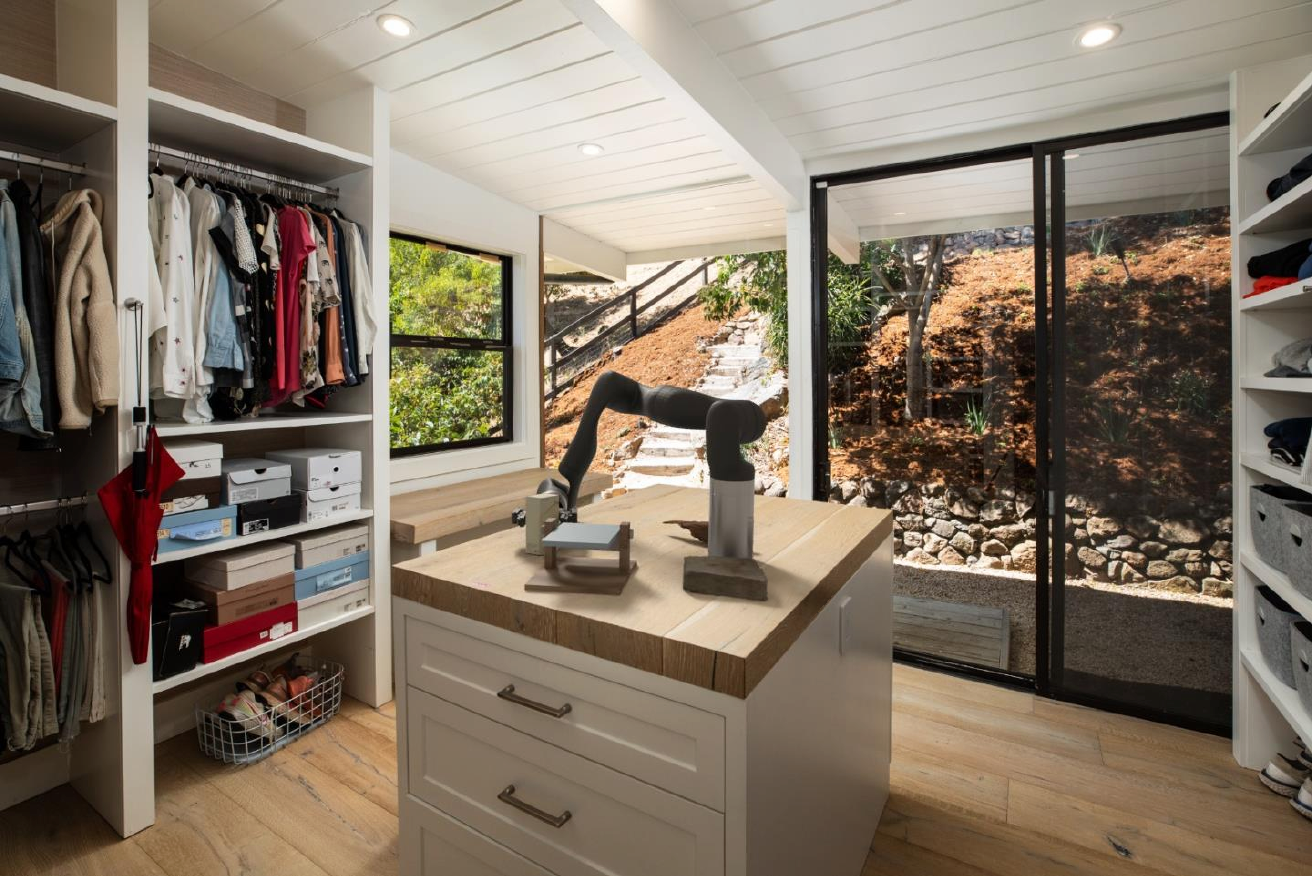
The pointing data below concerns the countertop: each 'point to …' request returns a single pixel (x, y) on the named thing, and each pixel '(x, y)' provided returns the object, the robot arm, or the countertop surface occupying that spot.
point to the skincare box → (539, 519)
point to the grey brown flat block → (725, 577)
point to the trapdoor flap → (584, 537)
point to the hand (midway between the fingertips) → (541, 522)
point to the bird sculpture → (694, 528)
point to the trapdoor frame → (584, 568)
